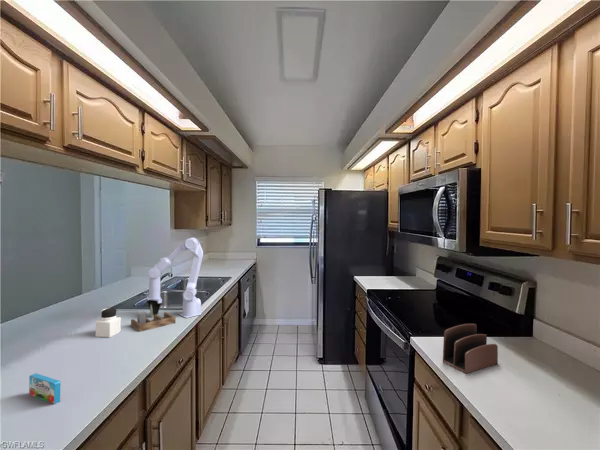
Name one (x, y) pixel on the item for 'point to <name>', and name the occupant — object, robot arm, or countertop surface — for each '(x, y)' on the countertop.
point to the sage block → (151, 312)
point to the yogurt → (44, 388)
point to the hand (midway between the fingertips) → (154, 313)
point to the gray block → (141, 317)
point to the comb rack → (153, 322)
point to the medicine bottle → (108, 323)
